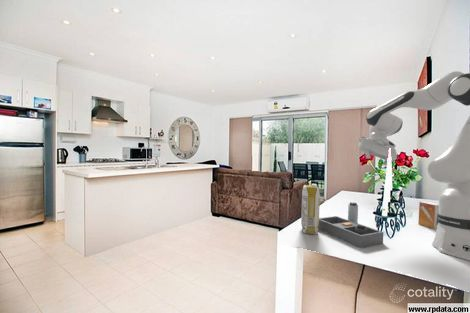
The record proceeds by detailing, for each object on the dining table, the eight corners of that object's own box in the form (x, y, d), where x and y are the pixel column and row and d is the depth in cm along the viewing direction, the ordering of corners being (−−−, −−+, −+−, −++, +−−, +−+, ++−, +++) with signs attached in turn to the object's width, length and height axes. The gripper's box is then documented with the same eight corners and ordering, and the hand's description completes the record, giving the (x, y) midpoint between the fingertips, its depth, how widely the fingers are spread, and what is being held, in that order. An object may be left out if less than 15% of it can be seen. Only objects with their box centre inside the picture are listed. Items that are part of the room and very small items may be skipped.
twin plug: (369, 237, 101) (369, 227, 101) (361, 238, 99) (362, 228, 99) (359, 234, 105) (360, 223, 105) (352, 235, 103) (353, 224, 103)
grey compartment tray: (383, 243, 100) (383, 230, 100) (360, 247, 94) (361, 234, 94) (335, 225, 124) (336, 215, 124) (316, 227, 118) (316, 217, 118)
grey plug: (359, 228, 120) (360, 203, 119) (353, 229, 118) (354, 204, 118) (351, 225, 124) (352, 201, 124) (345, 226, 122) (346, 202, 122)
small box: (418, 224, 129) (419, 201, 128) (425, 223, 131) (426, 201, 130) (434, 229, 121) (435, 205, 121) (442, 228, 123) (443, 204, 123)
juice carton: (319, 235, 107) (321, 185, 107) (302, 234, 109) (303, 184, 108) (316, 229, 117) (317, 182, 116) (300, 227, 118) (301, 182, 118)
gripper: (363, 132, 127) (361, 151, 120) (398, 145, 126) (399, 165, 119) (356, 138, 133) (354, 157, 125) (390, 151, 131) (390, 171, 124)
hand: (376, 161), depth 122 cm, fingers open, 8 cm apart
